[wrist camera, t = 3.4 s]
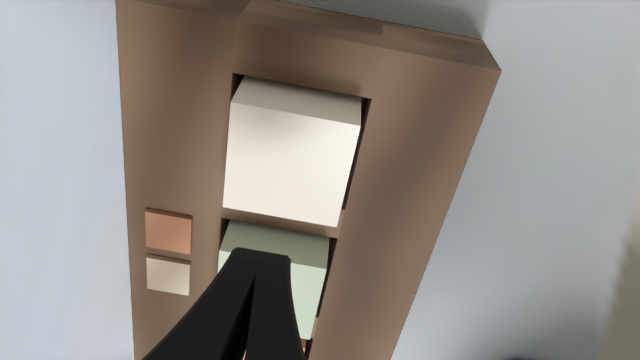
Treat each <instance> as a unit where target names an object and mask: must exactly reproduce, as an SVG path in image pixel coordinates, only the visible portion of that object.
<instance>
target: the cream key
mask: <svg viewBox="0 0 640 360" xmlns="http://www.w3.org/2000/svg"><path fill="white" fill-rule="evenodd" d="M360 128H361V97H360V96H355V95H350V94H344V93H339V92H334V91H328V90H323V89H318V88H312V87H307V86H301V85H296V84H291V83H285V82H280V81H275V80H269V79H264V78H259V77H253V76H248V75H245V76H244V78H243V80H242V81H241V83H240V85H239V87H238V89H237V91H236V93H235V95H234V97H233V98H232V100H231V104H230V117H229V130H228V143H227V156H226V169H225V182H224V195H223V207H225V208H231V209H236V210H242V211H247V212H253V213H259V214H264V215H270V216H275V217H281V218H287V219H292V220H298V221H303V222H309V223H315V224H320V225H326V226H331V227H337V224H338V220H339V216H340V211H341V207H342V203H343V199H344V195H345V191H346V186H347V182H348V178H349V174H350V170H351V165H352V161H353V157H354V153H355V149H356V144H357V140H358V136H359V132H360Z"/></svg>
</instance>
